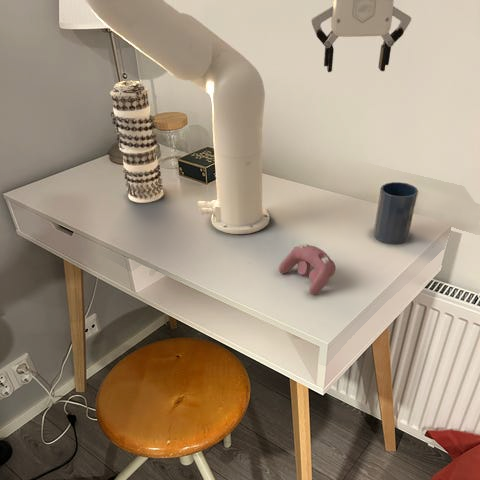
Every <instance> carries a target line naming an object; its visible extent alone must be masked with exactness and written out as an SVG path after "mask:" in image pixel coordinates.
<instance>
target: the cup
mask: <svg viewBox="0 0 480 480" xmlns="http://www.w3.org/2000/svg"><path fill="white" fill-rule="evenodd" d="M418 195H419V190H418V188H417V187H416V186H414V185H412V184H410V183H406V182H402V181H401V182H400V181H395V182H394V181H393V182H387V183H384V184H382V185H381V187H380V190H379V195H378V197H379V198H378V202H377V208H376V214H375V220H374V227H373V237H374V238H375V240H377V241H378V242H380V243H382V244H385V245H386V244H387V245H400V244H403V243H406V242H407V241H408V240H409V236H410V233H411V232H410V231H411V227H412V222H413V217H414V213H415V208H416V204H417V199H418Z"/></svg>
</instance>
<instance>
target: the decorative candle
mask: <svg viewBox="0 0 480 480" xmlns="http://www.w3.org/2000/svg"><path fill="white" fill-rule="evenodd" d="M148 92H149V88H147V87H145V86H144V84H143V83H142V82H141V81H138V80H125V81H124V80H123V81H119V82H117V83H115V84H114V86H113V89H112V90H111V91H109V95H111V101H112V105H113V108H112V110H113V111H112V112H110V116H111V118H112V124H113V125H114V126H115V127H114V134H116V135H115V136H116V139H115V140H116V141H118V148H119V151H121V154H122V159H123V160H122V163H123V173H124V180H126V181H125V186H126V193H127V194H128V199H129V200H130V202H131V201H132V202H134V203H139V204H140V203H142V204H144V203H145V204H146V203H152V202H156V201H158V200H160V199H161V198H162V197H163V196H164V188H163V187H164V186H163V179H162V178H161V176H162V172H161V171H160V170H161V165H160V164H159V161H158V156H157V154H156V153H157V152H156V148H157V144H158V141H157V140H156V139H155V138H157V134H156V132H153V130H154V129H156V124H155V123H153V122H155V120H156V119H155V117H154V116H153V115H151V106H150V105H151V104H150V102H149V97H148V96H149V95H148Z"/></svg>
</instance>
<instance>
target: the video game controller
mask: <svg viewBox="0 0 480 480" xmlns="http://www.w3.org/2000/svg"><path fill="white" fill-rule="evenodd" d="M296 266H297V268H296V270H297V273H298V274H299V275H303V276H307V275H308V279H309V281H310V282H311V284H310V286H309V293H310V295H313V296H314V295H317V294H318V293H320V292H321V291H322V290H323V289H324V288H325V287H326V285H327V284H328V282H329V281H330V280H331V278H333V276H334V275H335V274H336V271H337V267H336V264H335V261H334V260H333V259H331V258H330V255H328V254H327V253H326V252H325V251H324V250H322V249H321V248H319V247H317V246H315V245H310V244H307V243H302V244H300V243H299V244H298V245H296V246H294V247H293V248H292V250H291V251H290V252H289V253H288V255H287V256H285V258H284V259H283V260H282V261H281V263H280V264H279V267H278V271H279V273H280V274H281V275H282V274H287V273H288V272H289V271H292V269H294V268H295V267H296ZM311 267H314V268H313V269H312V268H311ZM311 269H312V270H311Z"/></svg>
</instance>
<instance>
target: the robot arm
mask: <svg viewBox="0 0 480 480" xmlns="http://www.w3.org/2000/svg"><path fill="white" fill-rule="evenodd" d="M85 2H86V3H87V5H88V7H89V8H90V10H91V11H92V12H93V14H94V15H95V16H96V17H97V18H98V19H99V20H100V21H101V22H102V23H103V24H104V25H105V26H106V27H107V28H109V29H110V31H112V32H114V33H115V34H117V35H118V36H119V37H121V38H122V39H123V40H125V41H126V42H128V43H129V44H130V45H132V46H133V47H134V48H135V49H137V50H138V51H139V52H141V53H142V54H143V55H145V56H146V57H148V58H149V59H150V60H152V61H153V62H154V63H156V64H157V65H159V66H160V67H161V68H163V69H164V70H165V71H166V72H168V74H170V75H171V76H173V77H175V78H177V79H179V80H182V81H190V83H192V84H193V85H195V86H197V88H199V89H201V90H202V91H203V92H204V93H207V94H208V95H209V97H210V99H211V106H212V107H211V108H212V140H213V141H212V142H213V143H212V144H213V152H214V165H215V166H214V167H215V168H214V169H215V184H216V199H212V200H211V201H206V200H205V201H202V200H199V201H197V211H201V215H207V216H208V215H211V224H212V226H213V227H214V228H215V229H216V230H217V231H220V232H222V233H226V234H231V235H247V234H252V233H256V232H258V231H261V230H263V229H264V228H265V227H267V226H268V225H269V224H270V212H269V211H268V210H267V209H265V208H264V207H263V119H264V111H265V102H266V101H265V99H266V94H265V92H266V91H265V84H264V82H263V79H262V76H261V74H260V72H259V71H258V69H257V68H256V66H254V65H253V64H252V63H251V62H250V61H249V60H248V59H247V58H246V57H245V56H244V55H243V54H241V52H240V51H238V50H237V49H235V48H234V47H232V46H231V45H230V44H229V43H228V42H226V41H224V40H223V39H222V38H221V37H220V36H218V35H217V34H216V33H214V32H213V31H212V30H211V29H210V28H208V27H206V25H204V24H203V23H202V22H200V21H199V20H198V19H197V18H195V17H194V16H192V15H190V14H188V13H184V12H179V10H177V9H175V8H174V7H173V6H172V5H170V4H169V3H167V2H166V1H165V0H85ZM393 17H394V18H396V19H397V20H399V24H398V26H397V28H395V29H394V31H392V32H391V33H390V30H391V27H392V22H393ZM330 18H331V19H330ZM329 19H330V21H331V22H330V23H331V24H330V25H331V26H330V27H331V30H330V32H329V33H328V34H326V33H325V32H324V30H323V29H322V26H321V25H322V23H323V22H325V21H327V20H329ZM411 21H412V17H411V16H410V15H408V14H407V13H405V12H403V11H402V10H400V9H399V8H398V7H396V6H394V0H333V3H332V5H331V7H329V8H327V9H326V10H324V11H322V12H321V13H319V14H317V15H316V16H314V17H313V18H311V21H310V22H311V25H312V28H313V31H314V33H315V35H316V37H317V39H318V40H319V41H320V42H321V44H322V45H323V46H324V56H323V57H324V58H323V67H326V70H327V73H331V72H333V65H334V64H333V62H334V49H335V48H334V45H333V44H334V43H335V42H336V41H337V39H338V38H339V37H343V38H346V37H347V38H350V37H351V38H353V37H354V38H355V37H357V38H358V37H381V39H382V40H383V43H382V44H381V45H380V52H379V59H378V69H379V71H380V72H385V71H386V70H385V69H386V66H389V64H390V59H391V58H390V57H391V52H392V47H394V44H395V43H397V41H398V40H399V39H400V38H401V37H403V35H404V33H405V31H406V30H407V28H408V26H409V25H410V23H411Z"/></svg>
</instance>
